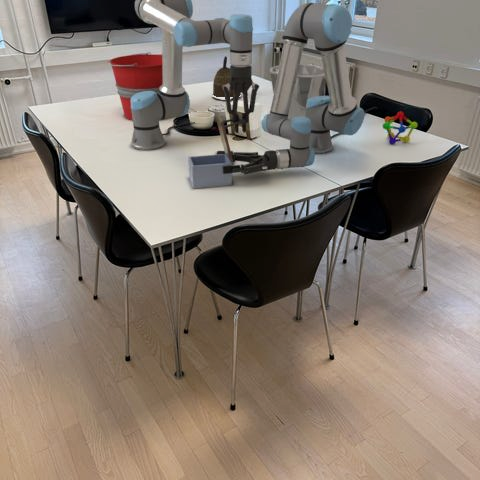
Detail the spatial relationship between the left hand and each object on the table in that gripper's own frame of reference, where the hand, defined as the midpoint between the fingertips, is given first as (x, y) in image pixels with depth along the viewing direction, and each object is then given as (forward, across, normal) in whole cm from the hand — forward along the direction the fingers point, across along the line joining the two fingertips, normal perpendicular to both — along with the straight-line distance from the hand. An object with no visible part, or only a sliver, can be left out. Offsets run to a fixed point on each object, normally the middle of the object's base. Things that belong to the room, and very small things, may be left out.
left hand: (240, 131), depth 165 cm
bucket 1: (+19, -30, +97) cm, 103 cm away
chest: (+19, -12, 0) cm, 22 cm away
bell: (+19, +22, +124) cm, 127 cm away
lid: (+2, -7, 0) cm, 7 cm away
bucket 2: (+19, +45, +60) cm, 77 cm away
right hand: (+12, -8, 0) cm, 15 cm away
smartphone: (+19, -2, +22) cm, 29 cm away
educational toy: (+19, +82, +23) cm, 87 cm away
